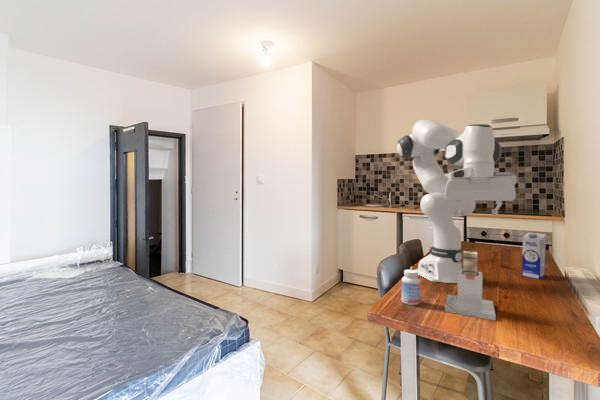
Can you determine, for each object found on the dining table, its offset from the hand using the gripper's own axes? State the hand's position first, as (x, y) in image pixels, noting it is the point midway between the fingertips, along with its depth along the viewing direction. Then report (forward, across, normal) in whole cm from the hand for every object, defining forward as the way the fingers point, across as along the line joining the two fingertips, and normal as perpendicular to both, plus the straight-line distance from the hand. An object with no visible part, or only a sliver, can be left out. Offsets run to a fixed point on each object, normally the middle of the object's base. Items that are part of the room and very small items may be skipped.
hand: (477, 214), depth 100 cm
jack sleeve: (+32, +2, 0) cm, 32 cm away
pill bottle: (+32, +21, +3) cm, 38 cm away
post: (+30, +2, 0) cm, 30 cm away
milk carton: (+32, -27, -56) cm, 70 cm away
